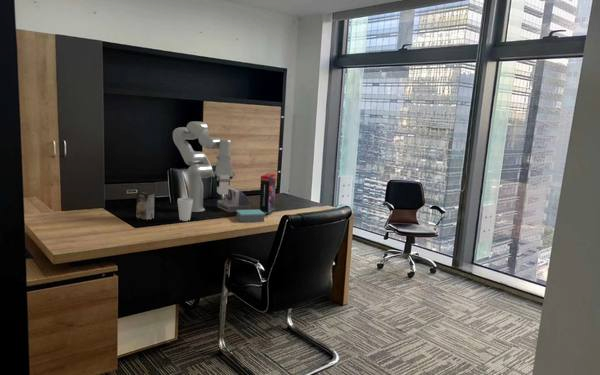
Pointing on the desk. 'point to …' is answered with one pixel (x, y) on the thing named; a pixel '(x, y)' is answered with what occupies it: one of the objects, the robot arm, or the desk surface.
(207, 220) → the desk surface
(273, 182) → the graphics card box
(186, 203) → the foam cup
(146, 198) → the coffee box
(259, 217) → the podium
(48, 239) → the desk surface
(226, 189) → the carton
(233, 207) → the instant camera
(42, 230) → the desk surface
